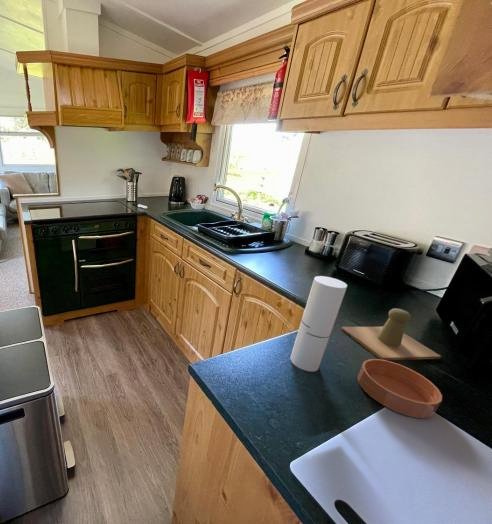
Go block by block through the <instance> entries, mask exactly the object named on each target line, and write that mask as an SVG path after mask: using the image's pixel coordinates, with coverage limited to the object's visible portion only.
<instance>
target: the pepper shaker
mask: <svg viewBox="0 0 492 524" xmlns="http://www.w3.org/2000/svg"><path fill="white" fill-rule="evenodd" d="M411 318H412V315H411V313H410V312H409V311H407V310H404V309H402V308H397V307H396V308H392V309H389V311H388V319H387V320H386V321H385V322H384V325H383V326H382V327H383V328H382V329H381V331H380V332H379V334H378V335H377V338H378V339H379V340H380V341H382V342H383V343H386V344H388V345H391V346H400V345H401V341H402V337H403V333H404V334H405V329H406V325H407V323H409V322H410V321H411Z"/></svg>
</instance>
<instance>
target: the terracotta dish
mask: <svg viewBox="0 0 492 524" xmlns="http://www.w3.org/2000/svg"><path fill="white" fill-rule="evenodd" d="M357 382H358V384H359V386H360V387H361V389H362V390H363V391H364V392H365V393H366V394H367V395H368V396H369V397H370V398H372V399H373V400H375V401H376V402H377V403H379V404H381V405H382V406H384V407H386V408H388V409H389V410H392V411H393V412H396V413H398V414H402V415H405V416H408V417H411V418H417V419H429V418H432V417H433V416H434V415H435V414H436V412H437V410H438V408H439V407H440V405H441V403H442V401H443V394H442V393H441V390H440V389H439V388H438V387H437V386H436V385H435V384H434V383H433V382H432V381H430V380H429V379H428V378H426V377H425V376H424V375H422V374H420V373H419V372H417V371H415V370H413V369H411V368H409V367H406V366H404V365H402V364H400V363H396V362H393V361H391V360H381V359H380V358H369V359H366V360H364V361H363V362H362V365H361V367H360V370H359V372H358V375H357Z"/></svg>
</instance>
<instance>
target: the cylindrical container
mask: <svg viewBox="0 0 492 524" xmlns="http://www.w3.org/2000/svg"><path fill="white" fill-rule="evenodd" d="M311 284H312V285H311V287H310V292H309V295H308V297H307V301H306V304H305V307H304V311H303V314H302V317H301V320H300V324H299V327H298V330H297V333H296V337H295V340H294V343H293V347H292V351H291V354H290V357H289V361H290V362H291V363H292V364H293V365H294V366H295V367H297V368H298V369H300V370H303V371H306V372H317V371H318V370H319V368H320V366H321V362H322V360H323V357H324V354H325V351H326V348H327V345H328V342H329V340H330V337H331V333H332V331H333V328H334V325H335V322H336V320H337V318H338V314H339V311H340V308H341V305H342V303H343V299H344V297H345V294H346V291H347V288H348V284H347V283H346V282H344V281H342V280H340V279H338V278H334V277H331V276H326V275H325V276H324V275H317V276H314V277H313V280H312V283H311Z"/></svg>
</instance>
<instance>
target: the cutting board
mask: <svg viewBox="0 0 492 524" xmlns="http://www.w3.org/2000/svg"><path fill="white" fill-rule="evenodd" d="M382 328H383V326H341V328H340V330H341V329H343V330H344V331H345V332H346V333H348V334H349V335H350V336H351V338H352V339H353V340H354V339H355V340H354V341H356V342H357V343H358V344H360V345H361V346H363V347H364V348H365V349H366V350H368V351H369V352H370V353H371V354H373V355H374V356H375V357H377V359H381V360H387V361H407V360H409V361H411V360H441V358H442V355H441V354H439V353H436V352H435V351H434V350H432V349H430V348H428V347H427V346H425V345H424V344H423V343H420V342H419V341H417V339H414V338H413V337H411V336H409V335H407V334H405V332H404V333H403V337H402V341H401V345H400V346H391V345H388V344H386V343H383V342H382V341H380V340H379V339H378V338H377V335H378V334H379V332H380V331H381V329H382ZM343 330H342V331H343ZM344 331H343V332H344ZM345 332H344V333H345ZM346 333H345V334H346ZM348 334H347V335H348ZM349 335H348V336H349ZM350 336H349V337H350Z"/></svg>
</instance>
